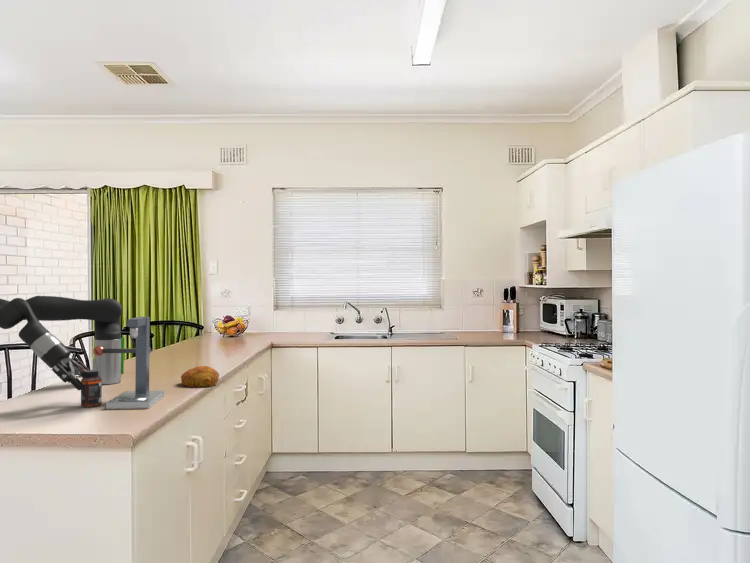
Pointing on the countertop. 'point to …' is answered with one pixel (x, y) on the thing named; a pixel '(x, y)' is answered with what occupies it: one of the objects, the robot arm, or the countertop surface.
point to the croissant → (200, 377)
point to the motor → (122, 355)
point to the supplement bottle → (91, 389)
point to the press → (138, 371)
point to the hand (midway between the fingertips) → (87, 385)
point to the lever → (113, 350)
